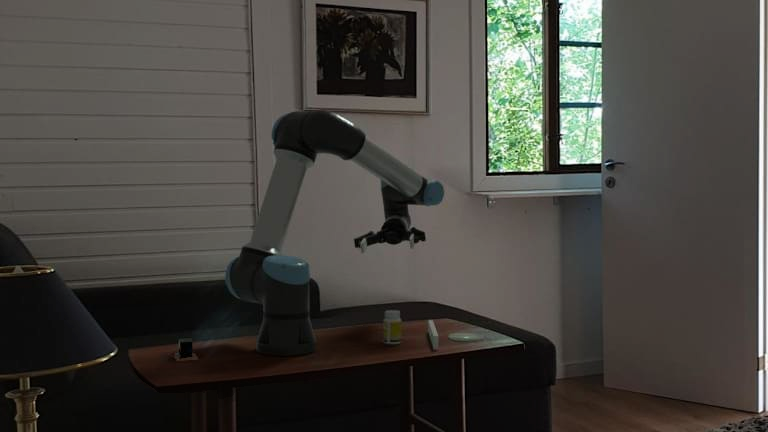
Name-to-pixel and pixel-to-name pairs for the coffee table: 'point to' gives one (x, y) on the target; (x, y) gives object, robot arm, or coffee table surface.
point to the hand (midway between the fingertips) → (386, 246)
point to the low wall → (433, 334)
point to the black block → (185, 348)
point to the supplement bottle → (392, 327)
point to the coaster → (465, 337)
